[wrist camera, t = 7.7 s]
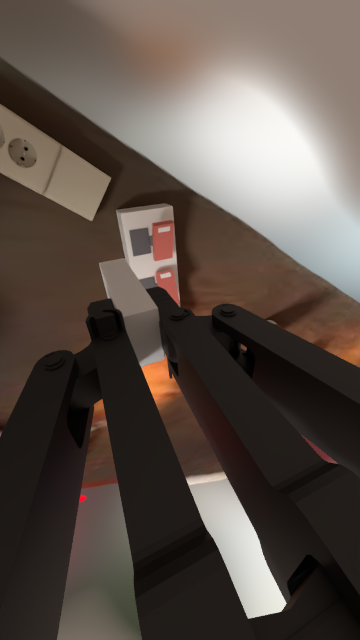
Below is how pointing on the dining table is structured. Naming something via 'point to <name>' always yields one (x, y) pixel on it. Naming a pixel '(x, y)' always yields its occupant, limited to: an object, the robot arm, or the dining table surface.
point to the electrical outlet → (49, 166)
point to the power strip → (145, 242)
